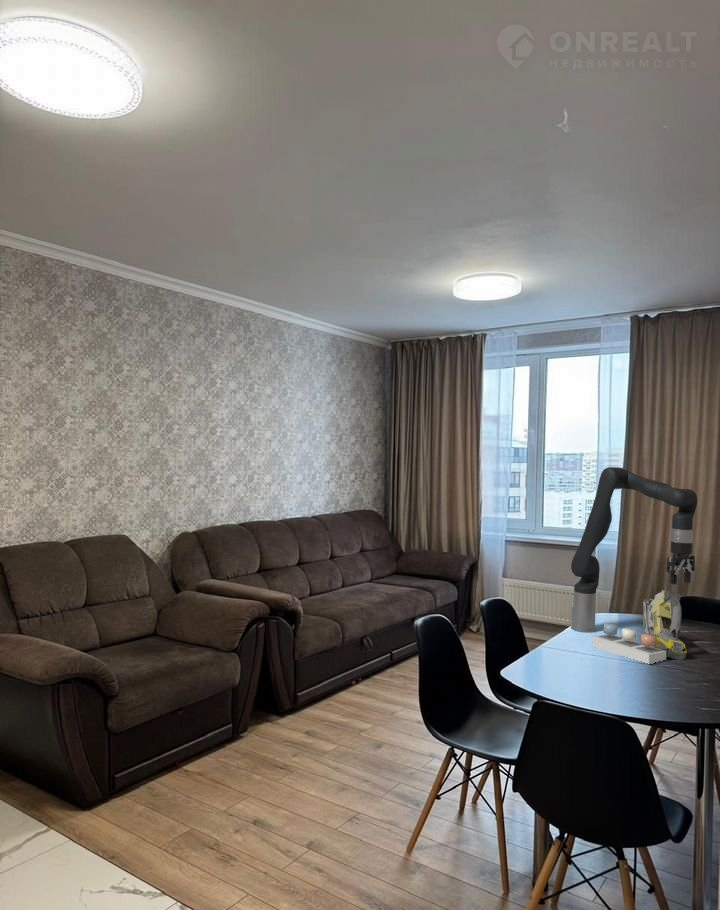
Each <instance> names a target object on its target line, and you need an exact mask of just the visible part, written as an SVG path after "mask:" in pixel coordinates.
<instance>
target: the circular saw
mask: <svg viewBox="0 0 720 910" xmlns="http://www.w3.org/2000/svg"><path fill="white" fill-rule="evenodd" d="M650 600H651V601H650ZM680 601H681V594H680V593H677V592H673V591H670V590H665V589H662V590H661V591H660V592H659V593H657V594H655V595H654V599H653V598H649V599H644V600H643V604H642V606H643V607H642V608H643V614H642V617H643V619H642V621H643V622H642V623H643V624H642V625H643V627H642V628H643V629H644V634H652V635H655V636H656V646H655V648H658V649H661V650H664V651H666V658H670V659H674V660H678V659H685V660H686V656H687V654H688V651H687V649H686V644H685V643H684V642H683V641H682V640H680V639H679V638H678V637H679V634H680V633H681V624H682V616H683V615H682V605H681V603H680Z"/></svg>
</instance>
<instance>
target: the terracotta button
mask: <svg viewBox="0 0 720 910" xmlns="http://www.w3.org/2000/svg"><path fill="white" fill-rule="evenodd" d="M640 639H641V640H640V643H641V645H644V646H648V647H655V646H656V636H655V635H652V634H646V633H642V634H641V637H640Z"/></svg>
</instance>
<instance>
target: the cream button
mask: <svg viewBox="0 0 720 910" xmlns="http://www.w3.org/2000/svg"><path fill="white" fill-rule="evenodd" d="M621 637H622V639H624V640H628V641H635V642H636V641H637V630H636V629H634V628H629V627H623V628H621Z"/></svg>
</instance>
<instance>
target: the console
mask: <svg viewBox="0 0 720 910" xmlns="http://www.w3.org/2000/svg"><path fill="white" fill-rule="evenodd" d="M592 639H593V640H592V647H593V648H597V649H599V650H602V651H605V652H608V653H611V654H615V655H618V656H621V657H622V656H625V657H624V658H626V657H628V658H627V659H629V658H631V659H630V660H633V659H635V660H634V661H636V660H638V661H637V662H640V661H642V662H641V663H643V662H645V663H648V664H650V663H655V662H656V663H660V662H659V661H661V662H664V661H663V660H666V661H667V657H666V651H664V650H661V649H658V648H655V647H648V646H644V645H641V642H638V641H636V640H635V641H628V640H624V639H622V636H618V635H608V634H601V635H596V636H593V638H592Z"/></svg>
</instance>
